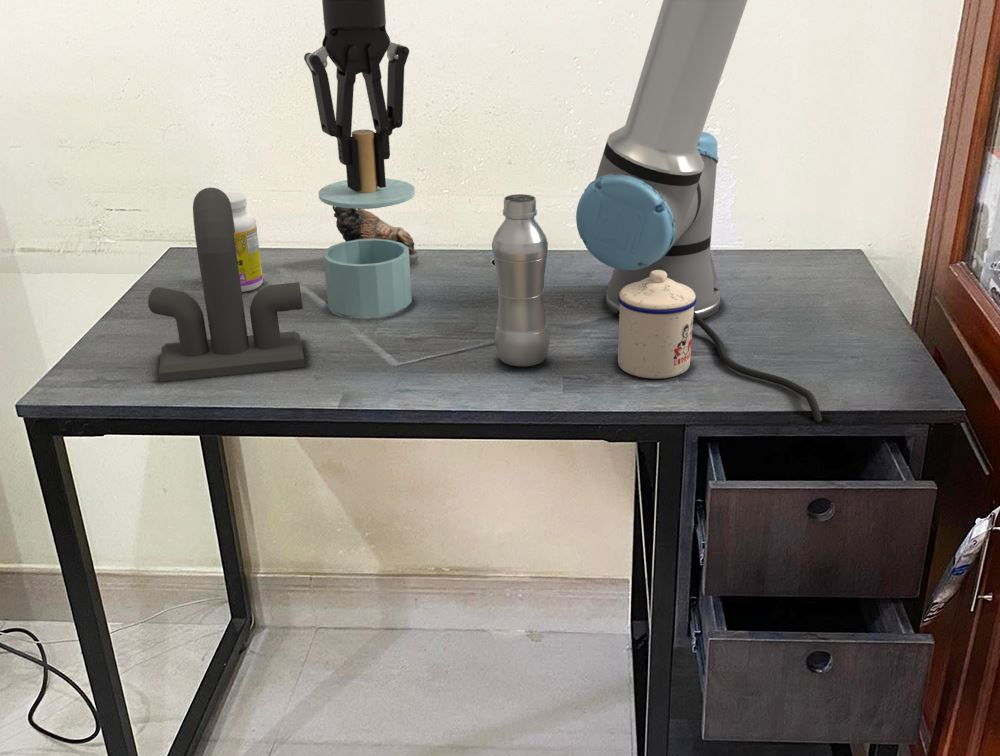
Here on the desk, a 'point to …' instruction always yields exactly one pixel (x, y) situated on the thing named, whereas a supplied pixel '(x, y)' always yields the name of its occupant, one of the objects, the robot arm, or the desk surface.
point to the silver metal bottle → (520, 284)
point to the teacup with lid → (655, 327)
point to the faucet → (225, 309)
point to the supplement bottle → (246, 243)
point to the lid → (366, 182)
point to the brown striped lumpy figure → (370, 228)
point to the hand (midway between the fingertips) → (366, 186)
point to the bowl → (367, 277)
